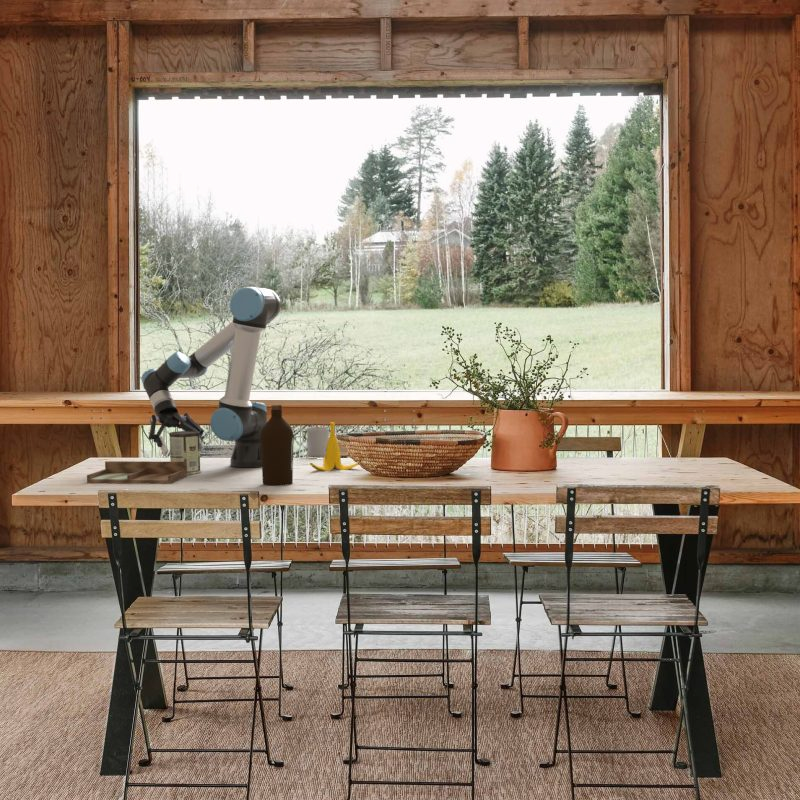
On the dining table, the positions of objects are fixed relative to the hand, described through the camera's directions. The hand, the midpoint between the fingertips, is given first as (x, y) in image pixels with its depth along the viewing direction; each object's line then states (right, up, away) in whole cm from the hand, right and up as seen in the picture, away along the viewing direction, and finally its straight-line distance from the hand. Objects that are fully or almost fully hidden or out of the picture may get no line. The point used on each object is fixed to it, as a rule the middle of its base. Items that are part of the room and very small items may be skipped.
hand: (184, 451), depth 338 cm
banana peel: (+53, -7, +8) cm, 54 cm away
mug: (+43, -4, +48) cm, 65 cm away
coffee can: (0, -8, +1) cm, 8 cm away
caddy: (-12, -8, -15) cm, 21 cm away
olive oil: (+36, -9, -27) cm, 45 cm away
